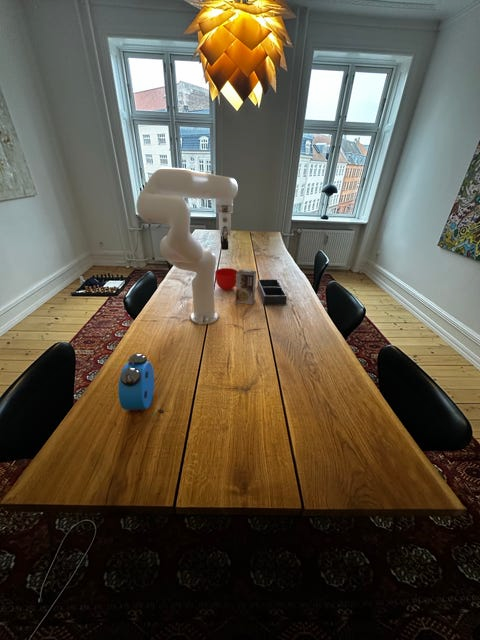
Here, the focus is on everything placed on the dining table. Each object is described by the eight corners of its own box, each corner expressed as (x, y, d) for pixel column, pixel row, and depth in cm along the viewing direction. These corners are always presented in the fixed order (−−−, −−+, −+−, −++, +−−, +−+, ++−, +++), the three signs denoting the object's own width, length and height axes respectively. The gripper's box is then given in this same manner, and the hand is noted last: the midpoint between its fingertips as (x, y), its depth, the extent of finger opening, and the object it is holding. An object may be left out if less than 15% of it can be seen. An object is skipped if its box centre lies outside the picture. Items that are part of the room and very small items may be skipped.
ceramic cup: (228, 297, 139) (228, 280, 133) (211, 287, 150) (210, 270, 145) (246, 291, 146) (247, 275, 141) (228, 282, 157) (228, 266, 152)
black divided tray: (285, 304, 134) (287, 295, 131) (263, 305, 132) (264, 296, 130) (276, 287, 153) (277, 279, 150) (257, 287, 152) (257, 279, 149)
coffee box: (254, 299, 137) (257, 271, 129) (252, 304, 132) (254, 275, 124) (238, 297, 139) (239, 268, 131) (235, 302, 134) (236, 272, 126)
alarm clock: (137, 385, 81) (128, 347, 73) (157, 385, 81) (150, 347, 74) (124, 421, 70) (112, 380, 62) (147, 420, 70) (138, 379, 63)
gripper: (234, 211, 108) (233, 252, 117) (231, 206, 123) (230, 242, 132) (216, 211, 108) (217, 252, 116) (215, 206, 122) (216, 242, 131)
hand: (224, 246), depth 124 cm, fingers open, 9 cm apart
